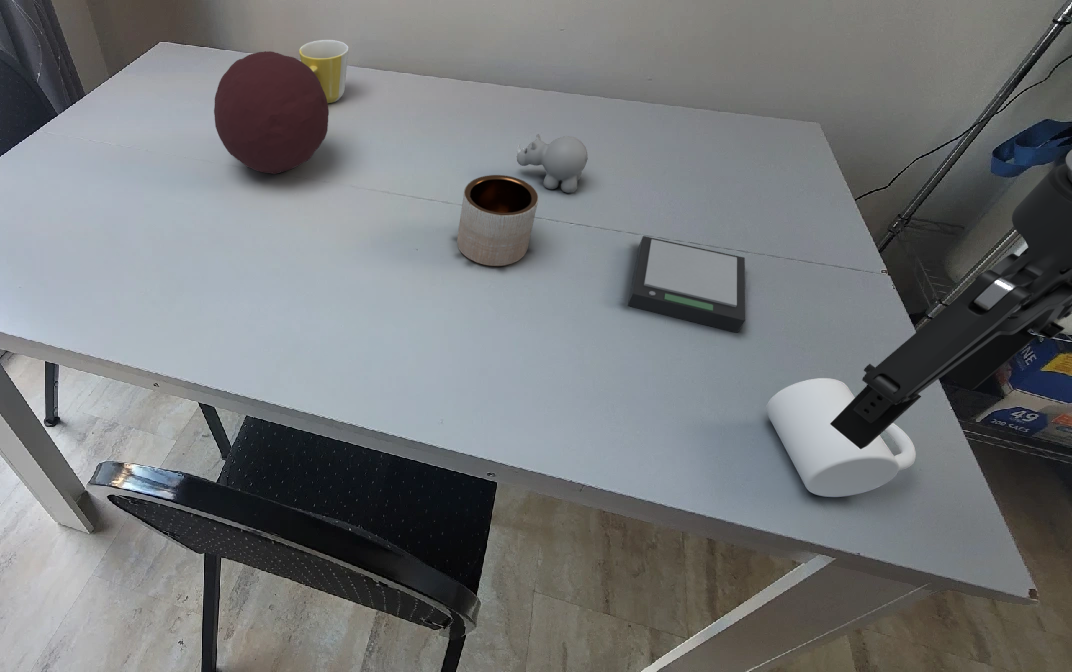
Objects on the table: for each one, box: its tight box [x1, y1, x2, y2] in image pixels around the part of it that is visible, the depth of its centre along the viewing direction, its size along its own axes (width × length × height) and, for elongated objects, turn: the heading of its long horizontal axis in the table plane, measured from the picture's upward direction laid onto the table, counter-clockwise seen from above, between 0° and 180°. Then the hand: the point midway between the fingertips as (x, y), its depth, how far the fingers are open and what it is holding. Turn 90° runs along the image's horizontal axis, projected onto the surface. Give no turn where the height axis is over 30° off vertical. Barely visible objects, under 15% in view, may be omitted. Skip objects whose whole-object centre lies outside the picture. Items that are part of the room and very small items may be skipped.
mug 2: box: [765, 377, 917, 498], centre depth 64 cm, size 12×10×8 cm
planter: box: [456, 174, 539, 267], centre depth 90 cm, size 11×11×10 cm
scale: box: [627, 235, 746, 334], centre depth 85 cm, size 14×14×3 cm
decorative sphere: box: [213, 50, 330, 175], centre depth 105 cm, size 20×20×20 cm
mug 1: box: [298, 39, 350, 104], centre depth 126 cm, size 14×10×10 cm
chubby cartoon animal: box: [516, 133, 589, 194], centre depth 103 cm, size 7×12×8 cm, turn 61°
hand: (903, 406), depth 50 cm, fingers open, 13 cm apart
